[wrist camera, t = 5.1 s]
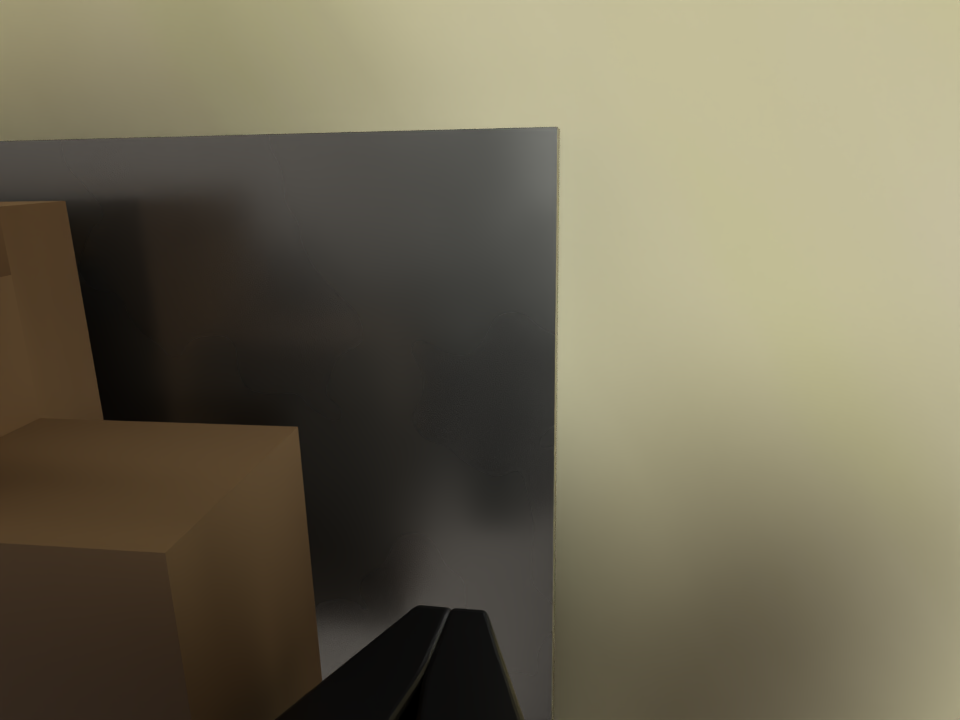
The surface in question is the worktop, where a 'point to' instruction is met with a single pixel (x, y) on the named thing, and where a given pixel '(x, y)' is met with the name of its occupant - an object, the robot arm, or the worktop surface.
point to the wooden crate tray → (135, 529)
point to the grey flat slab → (347, 346)
